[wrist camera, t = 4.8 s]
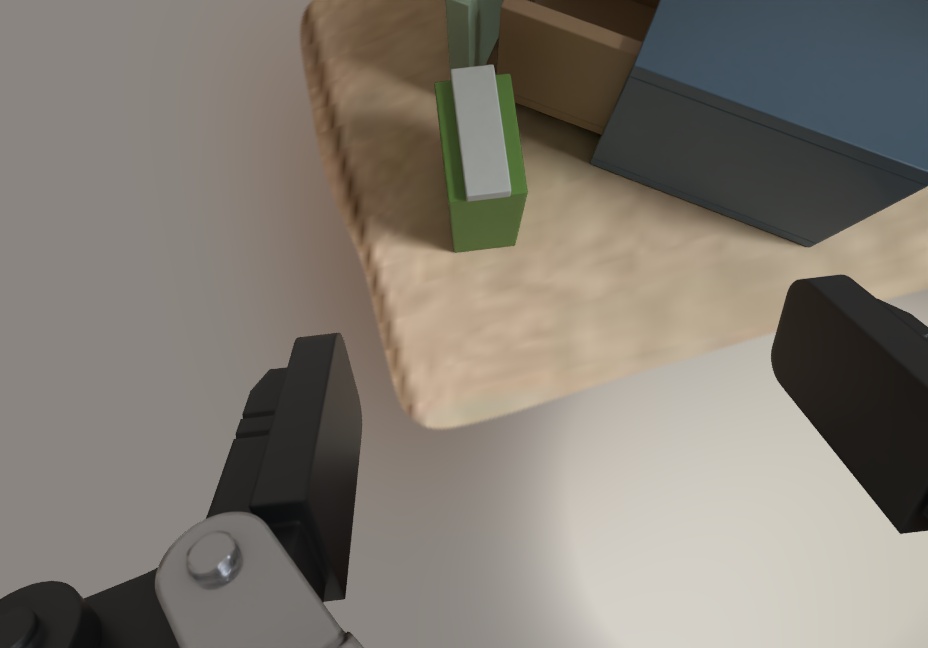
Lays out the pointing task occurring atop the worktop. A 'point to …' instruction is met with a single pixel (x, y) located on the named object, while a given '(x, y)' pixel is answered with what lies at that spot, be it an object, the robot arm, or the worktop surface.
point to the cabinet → (778, 110)
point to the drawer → (554, 50)
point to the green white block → (481, 158)
